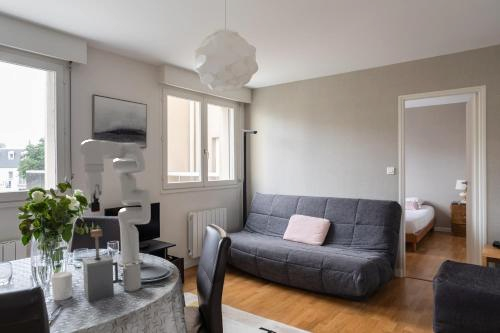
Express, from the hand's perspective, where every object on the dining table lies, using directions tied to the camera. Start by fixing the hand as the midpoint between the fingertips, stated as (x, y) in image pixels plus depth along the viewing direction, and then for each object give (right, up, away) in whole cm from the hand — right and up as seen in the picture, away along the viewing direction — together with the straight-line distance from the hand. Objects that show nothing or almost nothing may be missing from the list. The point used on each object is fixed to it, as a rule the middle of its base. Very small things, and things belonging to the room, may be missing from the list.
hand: (95, 211), depth 143 cm
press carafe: (+2, -37, +2) cm, 37 cm away
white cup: (-14, -37, 0) cm, 40 cm away
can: (+13, -36, +8) cm, 40 cm away
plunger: (+1, -23, +1) cm, 23 cm away
